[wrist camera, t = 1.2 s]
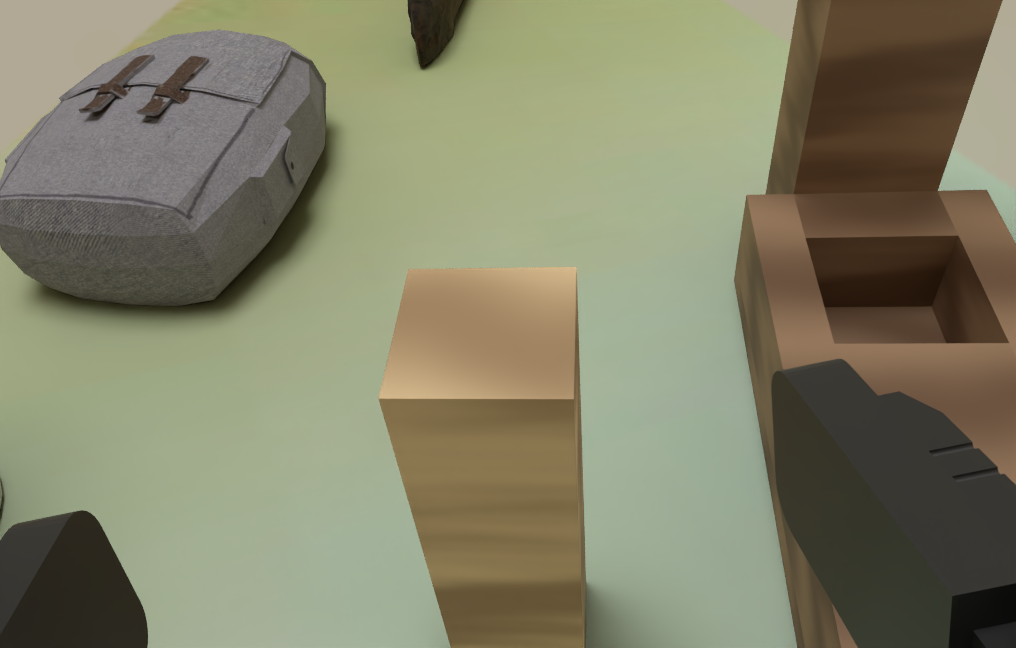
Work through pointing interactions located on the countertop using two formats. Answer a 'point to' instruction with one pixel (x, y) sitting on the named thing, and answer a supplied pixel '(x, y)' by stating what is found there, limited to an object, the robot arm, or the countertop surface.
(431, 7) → the hand tool
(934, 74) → the wooden peg socket stand
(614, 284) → the countertop surface
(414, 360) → the rail bar
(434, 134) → the countertop surface
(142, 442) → the countertop surface
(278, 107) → the small grey backpack
